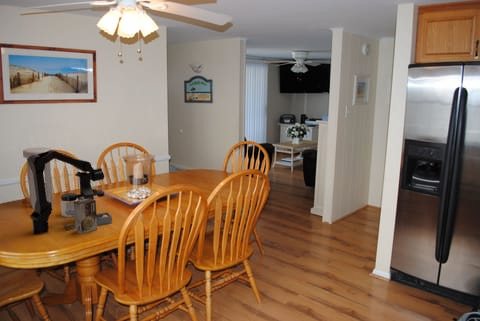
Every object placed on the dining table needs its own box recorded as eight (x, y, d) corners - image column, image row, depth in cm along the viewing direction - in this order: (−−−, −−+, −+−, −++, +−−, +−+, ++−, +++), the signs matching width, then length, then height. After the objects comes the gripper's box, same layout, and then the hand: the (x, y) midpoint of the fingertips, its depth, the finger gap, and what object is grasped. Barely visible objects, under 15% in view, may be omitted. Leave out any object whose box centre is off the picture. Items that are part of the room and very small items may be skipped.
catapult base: (66, 230, 199) (65, 220, 198) (64, 226, 204) (63, 216, 203) (96, 225, 208) (95, 215, 207) (93, 221, 213) (93, 212, 212)
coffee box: (91, 226, 206) (89, 197, 203) (97, 229, 202) (96, 200, 199) (74, 231, 199) (73, 201, 196) (81, 234, 195) (79, 203, 192)
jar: (66, 212, 227) (64, 192, 225) (80, 212, 228) (78, 192, 225) (59, 217, 219) (58, 197, 216) (74, 217, 219) (72, 197, 217)
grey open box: (97, 225, 207) (96, 217, 206) (93, 221, 213) (93, 213, 213) (111, 223, 212) (111, 215, 211) (107, 219, 218) (107, 211, 217)
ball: (109, 220, 213) (103, 222, 211) (107, 218, 216) (101, 220, 214) (108, 215, 212) (102, 216, 210) (106, 213, 215) (100, 214, 213)
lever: (66, 215, 199) (67, 211, 199) (62, 208, 209) (62, 205, 209) (94, 217, 207) (94, 214, 207) (88, 211, 217) (89, 207, 217)
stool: (57, 205, 239) (53, 150, 232) (29, 209, 230) (24, 152, 223) (53, 199, 251) (49, 146, 244) (26, 203, 242) (21, 148, 236)
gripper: (70, 188, 200) (72, 217, 203) (106, 184, 211) (107, 211, 214) (65, 183, 209) (67, 211, 212) (101, 179, 220) (102, 205, 223)
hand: (86, 209), depth 215 cm, fingers closed
